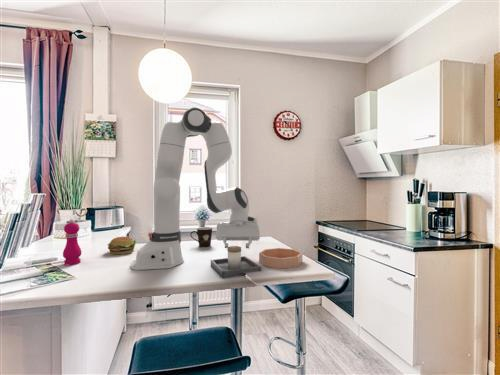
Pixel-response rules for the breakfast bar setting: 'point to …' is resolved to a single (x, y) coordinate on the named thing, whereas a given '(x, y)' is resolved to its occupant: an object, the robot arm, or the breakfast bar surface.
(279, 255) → the bowl
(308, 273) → the breakfast bar surface
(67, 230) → the pepper mill
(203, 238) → the coffee mug
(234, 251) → the spice jar
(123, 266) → the breakfast bar surface
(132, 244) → the food
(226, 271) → the tray
